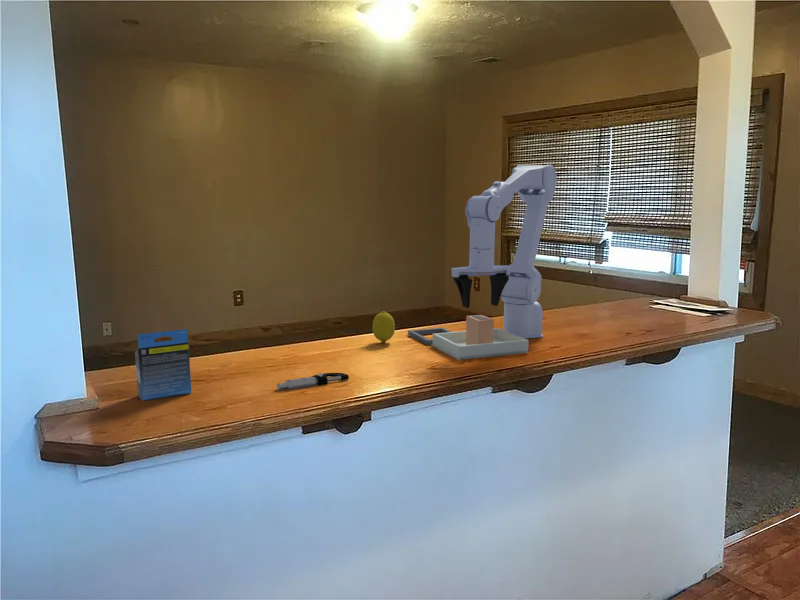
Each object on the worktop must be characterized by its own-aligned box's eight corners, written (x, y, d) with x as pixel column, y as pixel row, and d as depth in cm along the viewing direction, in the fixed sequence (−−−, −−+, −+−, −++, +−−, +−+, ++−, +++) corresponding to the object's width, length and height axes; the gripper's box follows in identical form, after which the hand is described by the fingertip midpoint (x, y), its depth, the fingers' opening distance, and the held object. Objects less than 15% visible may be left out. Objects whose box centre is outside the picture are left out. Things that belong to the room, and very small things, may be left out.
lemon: (368, 343, 162) (368, 311, 161) (379, 339, 167) (379, 308, 166) (388, 346, 160) (388, 313, 158) (398, 341, 165) (399, 310, 163)
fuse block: (480, 343, 161) (481, 314, 160) (492, 348, 156) (493, 318, 155) (465, 344, 160) (466, 315, 159) (477, 350, 154) (478, 320, 153)
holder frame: (442, 332, 176) (443, 327, 176) (463, 341, 165) (463, 337, 165) (408, 334, 172) (408, 330, 172) (427, 345, 161) (427, 340, 161)
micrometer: (337, 374, 138) (337, 362, 137) (352, 383, 132) (352, 370, 131) (267, 384, 131) (267, 371, 130) (279, 394, 125) (279, 381, 124)
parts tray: (497, 339, 167) (497, 328, 167) (528, 352, 155) (528, 340, 154) (432, 345, 161) (432, 333, 160) (458, 359, 148) (459, 346, 147)
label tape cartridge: (187, 388, 126) (183, 324, 124) (191, 394, 123) (188, 328, 121) (137, 395, 122) (133, 329, 120) (141, 401, 118) (136, 334, 116)
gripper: (500, 245, 160) (498, 301, 162) (446, 247, 155) (445, 305, 157) (516, 248, 154) (514, 306, 156) (459, 250, 148) (458, 310, 151)
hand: (480, 306), depth 156 cm, fingers open, 7 cm apart
